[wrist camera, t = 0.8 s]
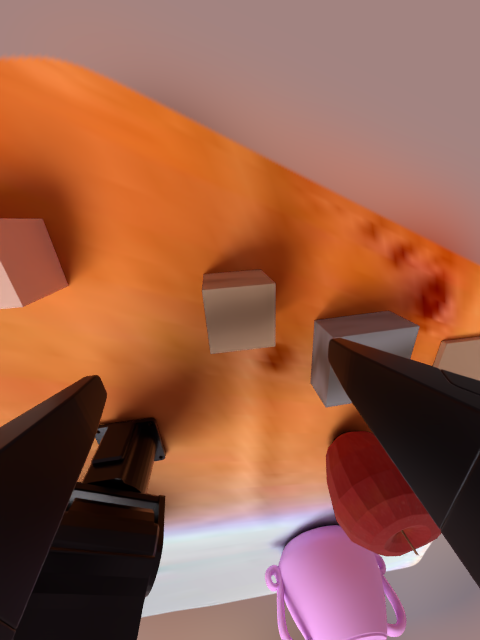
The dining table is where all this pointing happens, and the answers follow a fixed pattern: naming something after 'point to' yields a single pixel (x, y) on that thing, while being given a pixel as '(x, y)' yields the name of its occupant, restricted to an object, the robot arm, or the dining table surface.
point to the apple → (375, 497)
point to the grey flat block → (363, 329)
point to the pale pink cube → (27, 263)
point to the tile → (460, 357)
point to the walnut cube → (239, 310)
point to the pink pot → (333, 588)
